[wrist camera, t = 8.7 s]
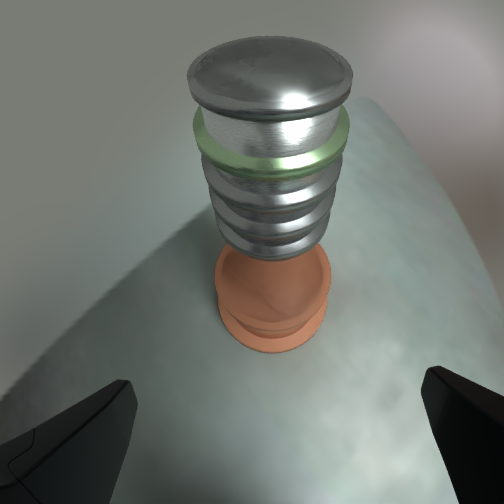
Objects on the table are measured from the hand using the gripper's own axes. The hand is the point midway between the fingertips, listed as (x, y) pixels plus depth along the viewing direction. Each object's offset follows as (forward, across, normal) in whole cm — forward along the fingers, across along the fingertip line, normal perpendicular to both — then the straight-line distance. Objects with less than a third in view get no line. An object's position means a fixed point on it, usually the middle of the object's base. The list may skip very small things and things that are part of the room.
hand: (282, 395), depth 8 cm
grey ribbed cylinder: (+7, 0, -4) cm, 8 cm away
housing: (+14, 0, +3) cm, 15 cm away
